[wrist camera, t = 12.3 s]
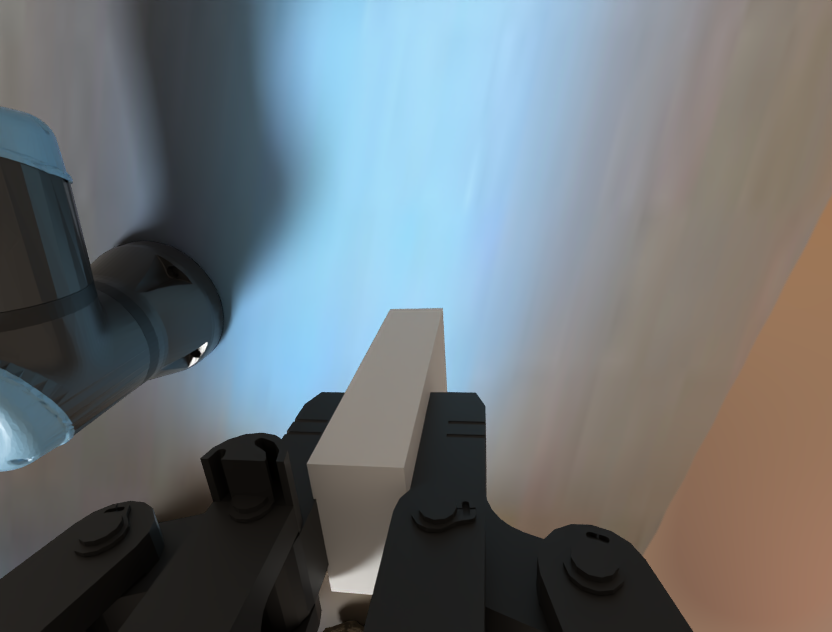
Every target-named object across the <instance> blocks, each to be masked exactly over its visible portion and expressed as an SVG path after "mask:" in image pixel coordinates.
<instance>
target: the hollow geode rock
mask: <svg viewBox="0 0 832 632" xmlns="http://www.w3.org/2000/svg"><path fill="white" fill-rule="evenodd" d="M363 631H364V627H363V626H361V625H360V624H359V623H358V622H357V621H346V622H344V623H342V624H339V625H336V626H333V627H329V628H325V630H324V631H323V632H363Z"/></svg>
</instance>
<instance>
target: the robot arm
mask: <svg viewBox="0 0 832 632" xmlns="http://www.w3.org/2000/svg"><path fill="white" fill-rule="evenodd" d="M71 183H73V182H72V178H71V177H70V175H69V174H67V172H66V169H65V166H64V163H63V159H62V156H61V153H60V150H59V146H58V143H57V140H56V137H55V135H54V133H53V132H52V130H51V129H50V128H49V127H48V126H47V125H46V124H45V123H44V122H43V121H41V120H40V119H38V118H37V117H35V116H33V115H31V114H28V113H25V112H22V111H18V110H14V109H10V108H5V107H1V106H0V471H9V470H14V469H18V468H21V467H24V466H26V465H28V464H30V463H32V462H34V461H35V460H37V459H38V458H40V457H42V456H43V455H45V454H46V453H48V452H50V451H51V450H53V449H54V448H56V447H58V446H60V445H63V444H65V443H67V442H68V441H69V440H70V439H71V438H73V436H74V435H75V434H76V433H78V432H79V431H80V430H82V429H83V428H84V427H86V426H87V425H88V424H90V423H91V422H92V421H94V420H95V419H96V418H98V417H99V416H100V415H102V414H103V413H104V412H106V411H107V410H108V409H110V408H111V407H112V406H114V405H115V404H116V403H118V402H119V401H120V400H122V399H123V398H124V397H126V396H127V395H128V394H130V393H131V392H132V391H134V390H135V389H136V388H138V387H139V386H140V385H142V384H143V383H144V382H146V381H147V380H151V379H155V378H158V377H162V376H165V375H169V374H173V373H176V372H180V371H183V370H186V369H188V368H190V367H192V366H194V365H196V364H197V363H198V362H200V361H201V360H202V359H203V358H205V357H206V356H207V355H208V354H210V353H211V352H212V351H213V349H214V348H215V347H216V345H217V344H218V342H219V340H220V337H221V334H222V330H223V310H222V305H221V301H220V298H219V295H218V293H217V291H216V289H215V287H214V285H213V283H212V282H211V280H210V279H209V277H208V276H207V275H206V273H205V272H204V271H203V270H202V269H201V268H200V266H199V265H198V264H196V263H195V262H194V261H193V260H192V259H191V258H189V257H188V256H187V255H185V254H184V253H182V252H180V251H179V250H177V249H175V248H173V247H170V246H168V245H165V244H162V243H158V242H152V241H137V242H132V243H128V244H125V245H122V246H118V247H115V248H113V249H111V250H109V251H107V252H105V253H103V254H102V255H101V256H99V257H98V258H97V259H96V260H95V261H94V262H93V263H92V264H91V265H90V262H89V257H88V253H87V249H86V245H85V241H84V237H83V233H82V229H81V225H80V221H79V217H78V213H77V208H76V204H75V200H74V196H73V192H72V188H71ZM200 459H201V462H202V466H203V469H204V472H205V476H206V479H207V482H208V486H209V489H210V492H211V496H212V499H213V503H212V504H211V506H210V507H209V508H208V510H207V511H206V512H205V513H203V514H200V515H196V516H191V517H186V518H181V519H176V520H171V521H166V522H161V523H158V521H157V519H156V516H155V513H154V510H153V508H152V507H150V506H149V505H147V504H146V503H144V502H136V501H127V502H122V503H117V504H112V505H110V506H107V507H105V508H102V509H100V510H98V511H95V512H93V513H91V514H90V515H88V516H86V517H85V518H83V519H82V520H80V521H78V522H77V523H75V524H74V525H72V526H71V527H70V528H68V529H67V530H66V531H64V532H63V533H62V534H60V535H59V536H58V537H56V538H55V539H54V540H52V541H51V542H50V543H48V544H47V545H45V546H44V547H43V548H41V549H40V550H39V551H37V552H36V553H35V554H33V555H32V556H31V557H29V558H28V559H27V560H25V561H24V562H23V563H21V564H20V565H19V566H17V567H16V568H15V569H13V570H12V571H11V572H9V573H8V574H7V575H5V576H4V577H3V578H1V579H0V632H317V631H318V628H319V625H320V618H321V611H322V610H321V605H320V601H319V596H318V593H319V590H320V588H321V585H322V582H323V579H324V577H325V574H326V571H328V576H329V581H330V586H331V591H335V592H346V593H358V594H370V595H372V598H371V602H370V606H369V610H368V614H367V618H366V623H365V627H364V631H363V632H693V631H692V629H691V628H690V626H689V625H688V623H687V622H686V620H685V619H684V617H683V616H682V614H681V613H680V611H679V609H678V608H677V607H676V605H675V603H674V602H673V600H672V599H671V597H670V596H669V594H668V593H667V591H666V590H665V588H664V587H663V585H662V584H661V582H660V581H659V579H658V578H657V576H656V575H655V573H654V572H653V570H652V569H651V567H650V566H649V564H648V563H647V561H646V560H645V559H644V557H643V556H642V555H641V554H640V553H639V552H638V551H637V550H636V549H635V548H634V546H633V545H632V544H631V543H629V542H628V541H626V540H625V539H623V538H621V537H620V536H618V535H617V534H615V533H613V532H612V531H609V530H606V529H603V528H599V527H596V526H593V525H579V524H570V525H567V526H564V527H561V528H558V529H555V530H553V531H552V532H551V533H550V534H549V535H548V536H547V537H546V538H545V539H542V538H539V537H536V536H533V535H530V534H527V533H524V532H522V531H520V530H518V529H515V528H513V527H511V526H510V525H508V524H507V523H505V522H504V521H503V520H501V519H500V518H499V517H498V516H497V515H496V514H495V513H494V511H493V510H492V509H491V507H490V505H489V503H488V501H487V497H486V416H485V405H484V404H483V402H482V401H481V399H480V398H479V397H478V395H477V394H476V393H462V392H447V381H446V362H445V343H444V324H443V308H432V309H390V311H389V312H388V314H387V316H386V318H385V320H384V322H383V324H382V325H381V327H380V329H379V331H378V333H377V335H376V337H375V338H374V340H373V342H372V344H371V346H370V348H369V349H368V351H367V353H366V355H365V357H364V359H363V361H362V362H361V364H360V366H359V368H358V370H357V372H356V373H355V375H354V377H353V379H352V381H351V383H350V385H349V386H348V388H347V390H346V392H345V393H341V392H321V393H320V394H318V395H317V396H316V397H314V398H313V399H312V400H310V401H309V402H307V403H306V404H305V405H304V406H303V408H302V409H301V411H300V412H299V414H298V415H297V417H296V418H295V422H293V423H292V424H291V426H290V427H289V429H288V430H287V434H285V435H284V436H283V438H282V439H280V438H279V437H277V436H276V435H272V434H266V433H254V434H245V435H242V436H238V437H235V438H232V439H229V440H227V441H225V442H223V443H221V444H219V445H217V446H215V447H213V448H212V449H211V450H210V451H209V452H207V453H206V454H205V455H204V456H203V457H202V458H200Z"/></svg>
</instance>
